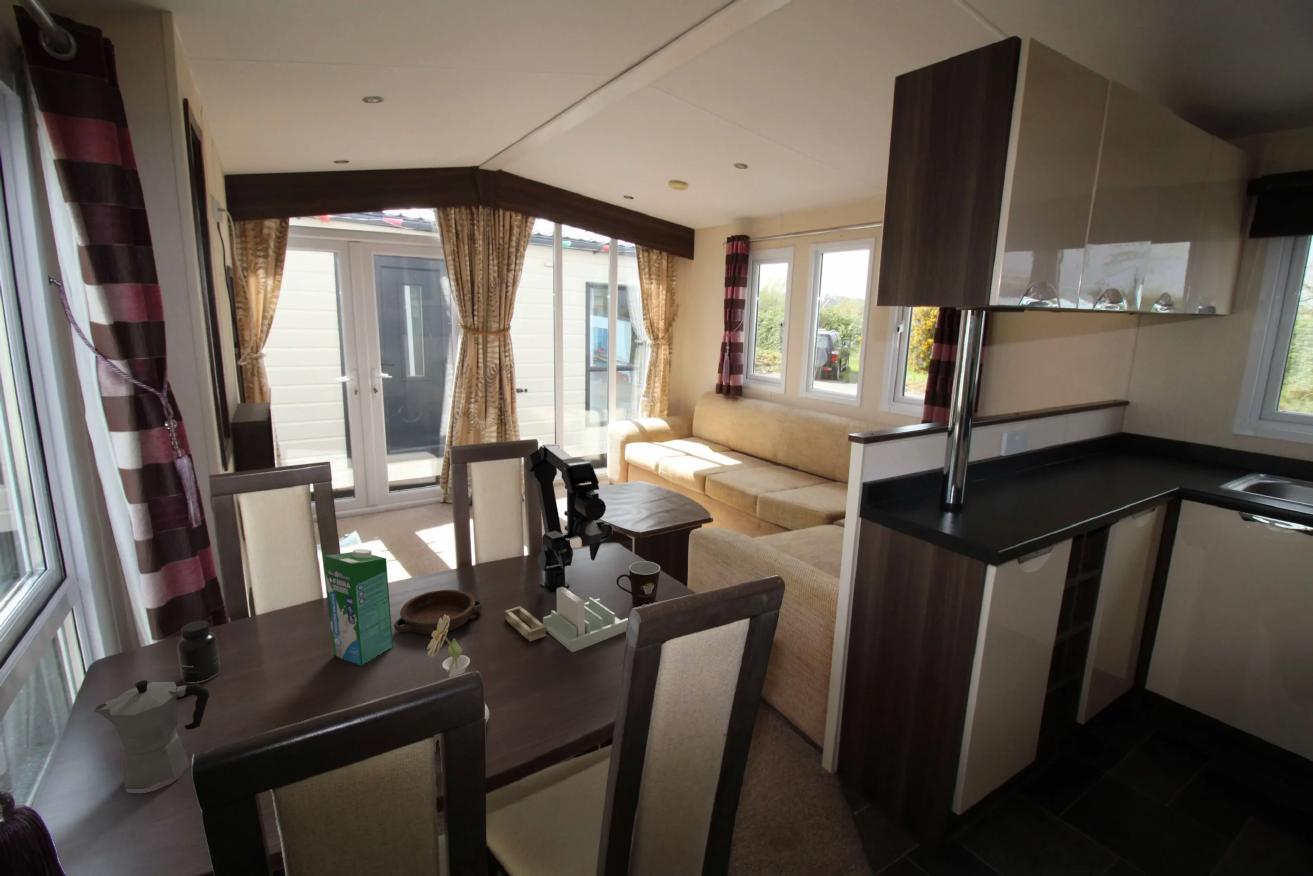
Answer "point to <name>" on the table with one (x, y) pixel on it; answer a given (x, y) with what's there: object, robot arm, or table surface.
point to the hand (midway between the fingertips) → (578, 564)
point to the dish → (436, 611)
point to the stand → (530, 634)
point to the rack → (596, 626)
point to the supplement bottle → (198, 652)
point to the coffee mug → (642, 582)
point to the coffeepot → (152, 730)
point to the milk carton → (358, 605)
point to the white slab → (571, 609)
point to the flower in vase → (450, 652)
